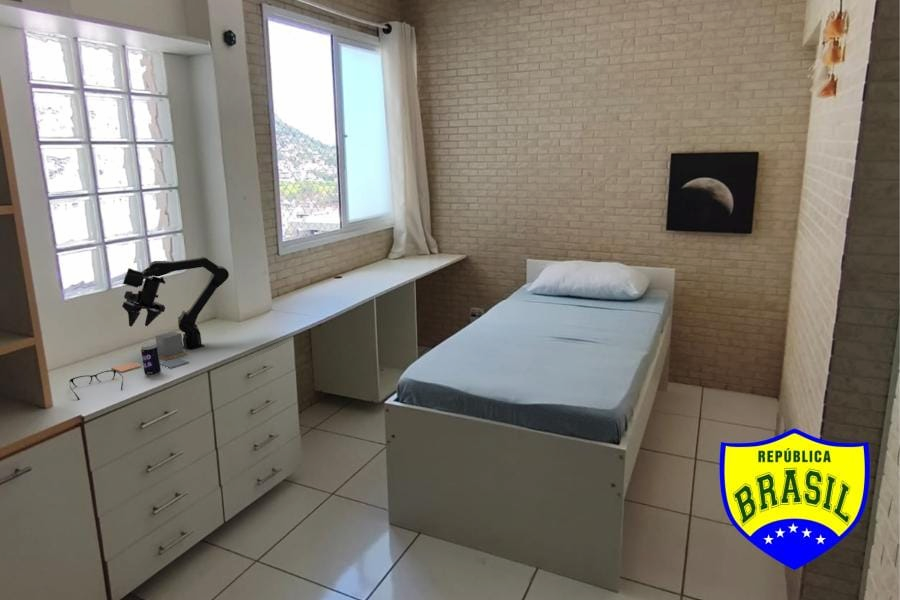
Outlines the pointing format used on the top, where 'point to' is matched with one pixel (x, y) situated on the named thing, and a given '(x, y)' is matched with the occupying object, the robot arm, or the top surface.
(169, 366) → the slate pad
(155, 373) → the beverage can
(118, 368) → the terracotta pad
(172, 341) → the grey unit
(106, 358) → the top surface
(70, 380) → the eyeglasses
